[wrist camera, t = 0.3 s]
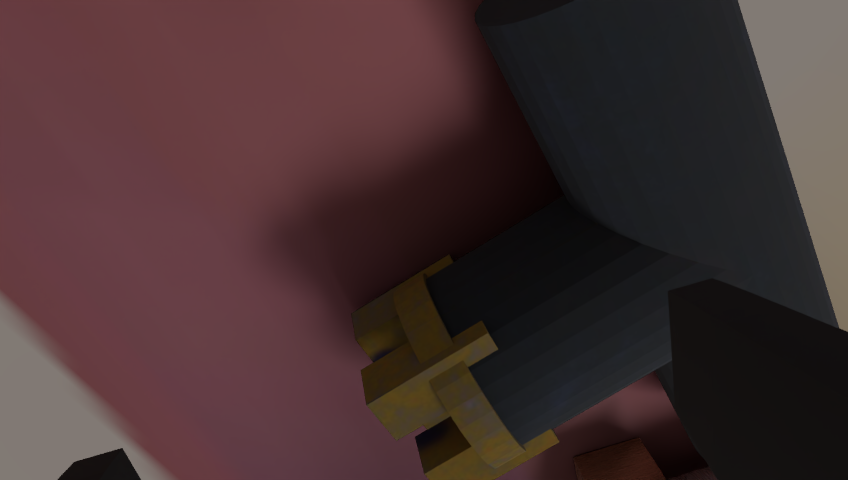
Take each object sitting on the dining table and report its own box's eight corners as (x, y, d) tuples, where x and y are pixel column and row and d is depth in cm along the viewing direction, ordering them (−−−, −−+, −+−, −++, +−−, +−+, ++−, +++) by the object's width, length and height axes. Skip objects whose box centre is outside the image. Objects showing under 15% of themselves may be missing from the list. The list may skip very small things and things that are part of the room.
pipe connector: (546, 631, 19) (210, 237, 12) (495, 490, 24) (231, 149, 17) (913, 429, 18) (770, -114, 11) (784, 324, 23) (629, -104, 16)
